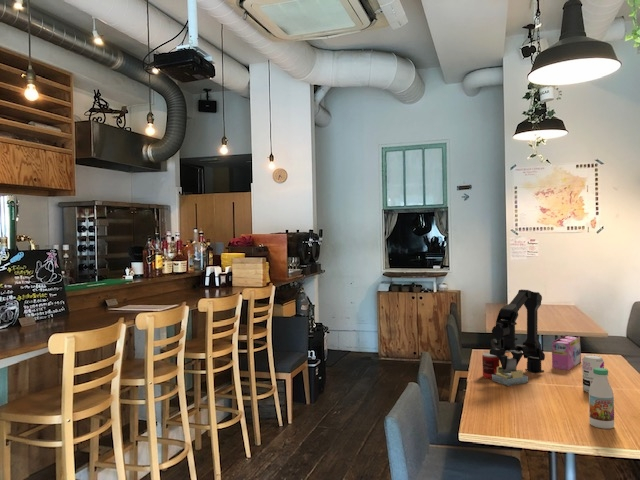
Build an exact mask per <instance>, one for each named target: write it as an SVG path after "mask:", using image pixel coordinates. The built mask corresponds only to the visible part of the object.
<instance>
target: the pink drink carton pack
mask: <svg viewBox="0 0 640 480" xmlns="http://www.w3.org/2000/svg"><path fill="white" fill-rule="evenodd" d="M581 362H582V351H581V336H579V335H578V336H576V337H575V336H569V335H567V334H565V335H562V336H561V337H559V338H556V339H555V340H553V341H551V363H552V364H551V367H552V369H557V370H565V371H569V370H570V369H572V368H574V367H575V366H577V365H578V364H580V363H581Z"/></svg>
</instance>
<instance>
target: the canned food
mask: <svg viewBox="0 0 640 480" xmlns="http://www.w3.org/2000/svg"><path fill="white" fill-rule="evenodd" d="M481 358H482V360H481V361H482V376H483V378H485V379H489V380H492V374H496V372H497V367H500V360H499V358H498V357H497V356H495V355H491V354H490V351H489V352H483V353H482V357H481Z"/></svg>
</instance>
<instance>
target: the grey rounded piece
mask: <svg viewBox="0 0 640 480" xmlns="http://www.w3.org/2000/svg"><path fill="white" fill-rule="evenodd" d="M517 367H518V366H517ZM517 367H516V359H515V358H513V357H507V364H506V369H505V370H504V369H503V372H505V373H511V371H517V370H518V369H517Z"/></svg>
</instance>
